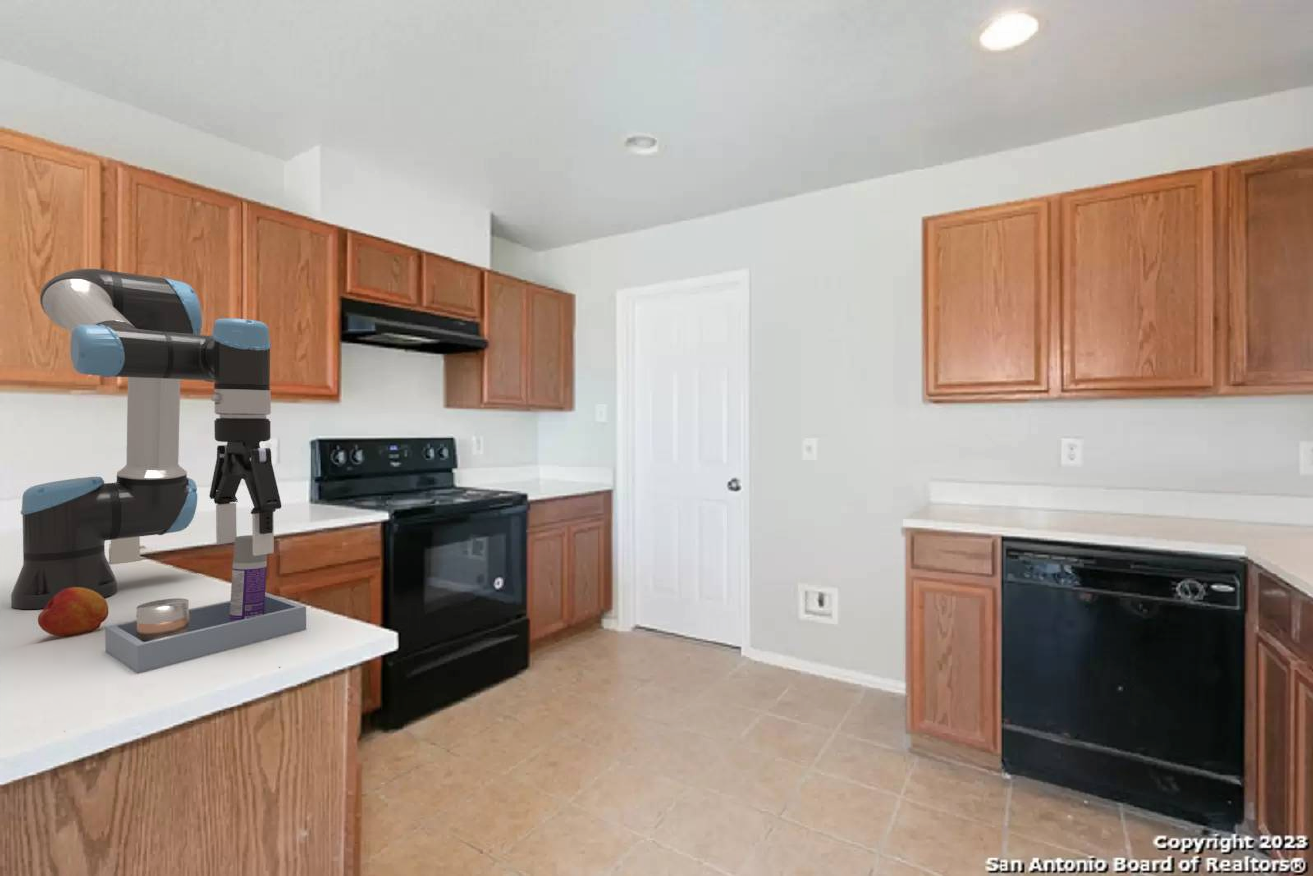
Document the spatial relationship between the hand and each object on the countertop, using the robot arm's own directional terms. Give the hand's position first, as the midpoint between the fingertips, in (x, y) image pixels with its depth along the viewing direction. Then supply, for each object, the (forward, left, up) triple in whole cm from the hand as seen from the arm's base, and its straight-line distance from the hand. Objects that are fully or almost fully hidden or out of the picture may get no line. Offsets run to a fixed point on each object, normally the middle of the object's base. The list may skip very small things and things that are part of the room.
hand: (244, 548), depth 102 cm
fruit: (-23, -16, -14) cm, 31 cm away
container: (0, 0, -13) cm, 13 cm away
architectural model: (-84, +6, -15) cm, 86 cm away
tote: (0, -5, -14) cm, 15 cm away
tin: (0, -11, -13) cm, 17 cm away
